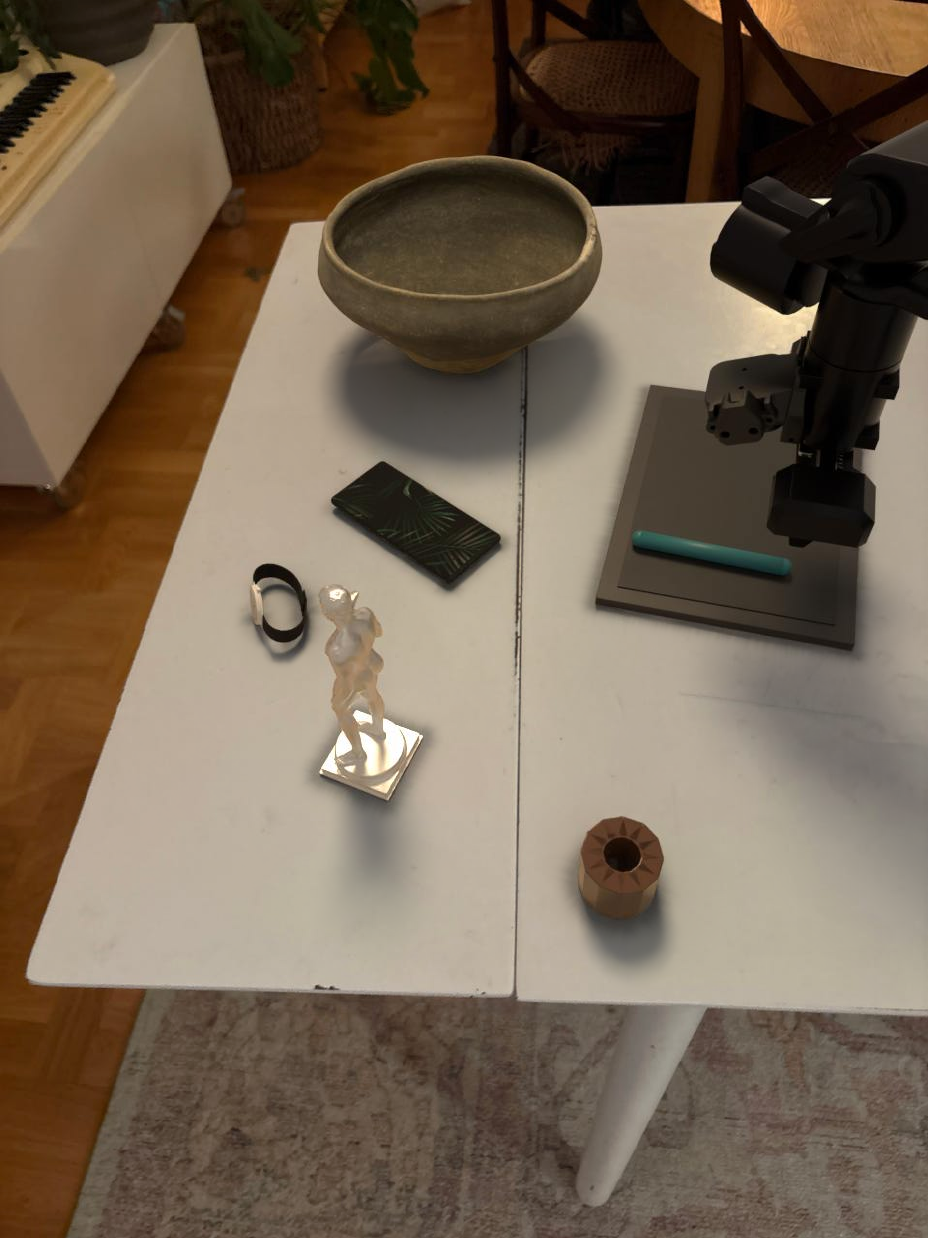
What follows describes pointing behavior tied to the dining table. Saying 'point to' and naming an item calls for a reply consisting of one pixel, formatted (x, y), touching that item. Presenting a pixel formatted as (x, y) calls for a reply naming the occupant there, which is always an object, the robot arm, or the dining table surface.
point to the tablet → (720, 534)
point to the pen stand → (619, 867)
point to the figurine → (367, 743)
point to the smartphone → (416, 521)
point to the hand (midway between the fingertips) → (798, 519)
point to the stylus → (712, 552)
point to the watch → (257, 606)
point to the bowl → (461, 258)
